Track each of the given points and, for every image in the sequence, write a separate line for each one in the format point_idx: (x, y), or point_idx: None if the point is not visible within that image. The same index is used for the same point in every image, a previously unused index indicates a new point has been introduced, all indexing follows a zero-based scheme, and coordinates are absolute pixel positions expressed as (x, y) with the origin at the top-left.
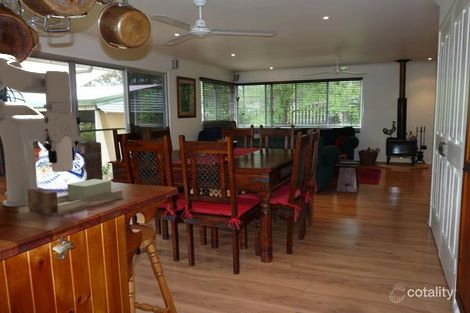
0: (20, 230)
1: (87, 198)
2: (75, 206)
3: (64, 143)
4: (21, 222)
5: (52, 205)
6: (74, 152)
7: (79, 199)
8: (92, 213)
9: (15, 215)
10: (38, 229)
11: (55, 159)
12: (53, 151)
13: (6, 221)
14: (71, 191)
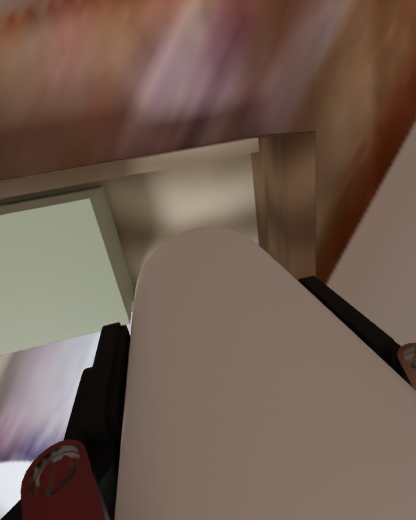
0: (411, 53)
1: (97, 168)
2: (168, 152)
3: (369, 405)
4: (354, 153)
5: (284, 133)
6: (73, 410)
7: (113, 225)
8: (142, 31)
9: (316, 253)
10: (384, 2)
11: (326, 287)
12: (386, 354)
13: (365, 204)
14: (124, 284)
